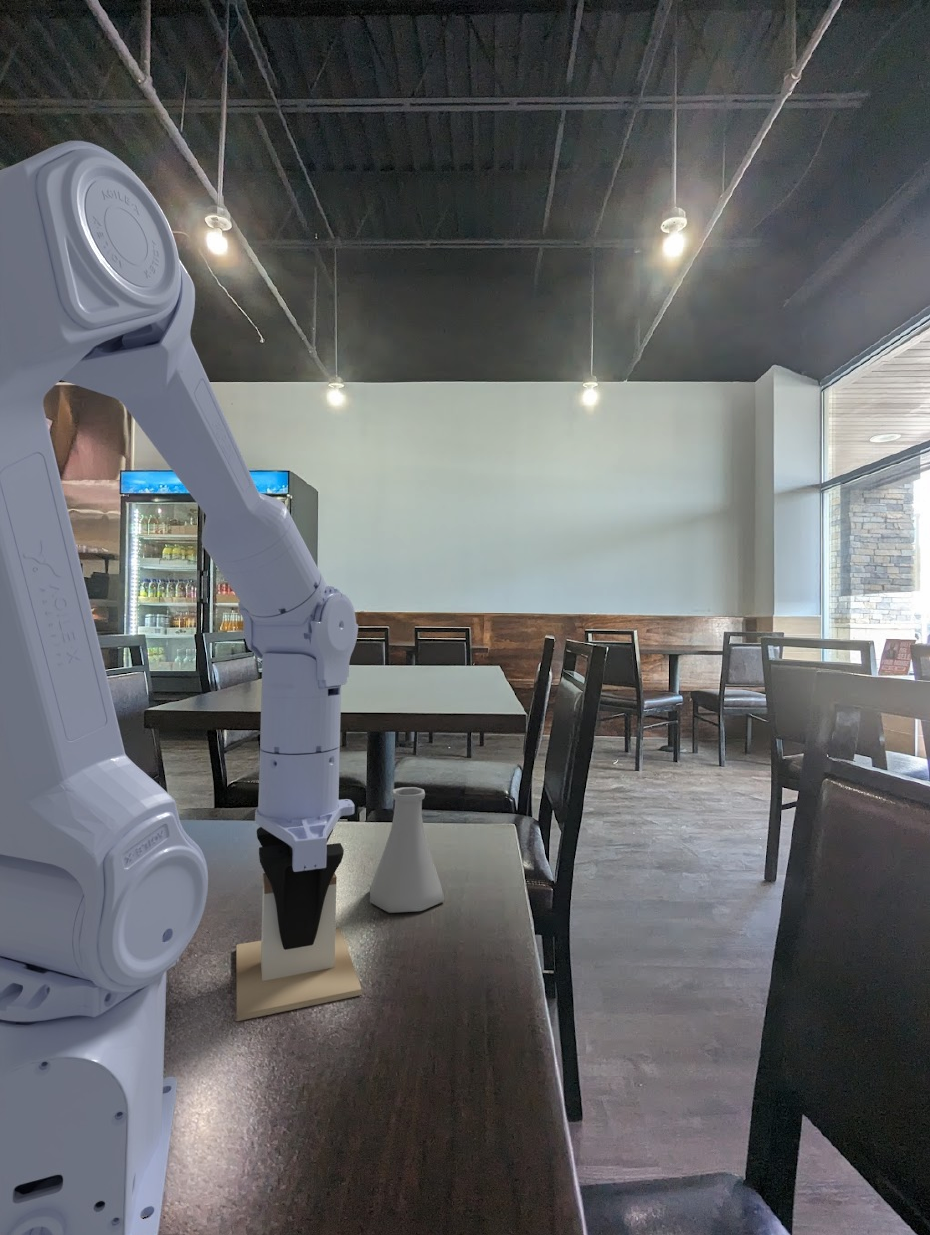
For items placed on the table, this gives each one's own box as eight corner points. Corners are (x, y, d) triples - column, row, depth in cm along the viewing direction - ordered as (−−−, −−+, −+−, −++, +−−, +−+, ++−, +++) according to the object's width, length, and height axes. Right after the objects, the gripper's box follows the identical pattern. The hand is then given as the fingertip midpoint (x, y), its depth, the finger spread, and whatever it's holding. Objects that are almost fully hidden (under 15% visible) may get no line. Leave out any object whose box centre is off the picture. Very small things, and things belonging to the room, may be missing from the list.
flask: (358, 889, 57) (360, 785, 57) (426, 876, 60) (428, 778, 60) (382, 922, 50) (384, 805, 51) (457, 906, 54) (459, 796, 54)
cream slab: (334, 967, 43) (336, 877, 43) (262, 981, 41) (264, 886, 41) (329, 949, 45) (331, 864, 45) (260, 962, 43) (263, 873, 43)
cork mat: (361, 994, 40) (361, 989, 40) (236, 1021, 37) (236, 1015, 37) (339, 932, 48) (339, 927, 48) (236, 949, 45) (236, 944, 46)
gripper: (375, 764, 38) (371, 976, 38) (338, 729, 52) (335, 885, 51) (260, 771, 35) (254, 999, 35) (253, 733, 49) (249, 897, 48)
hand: (295, 933), depth 43 cm, fingers open, 3 cm apart
